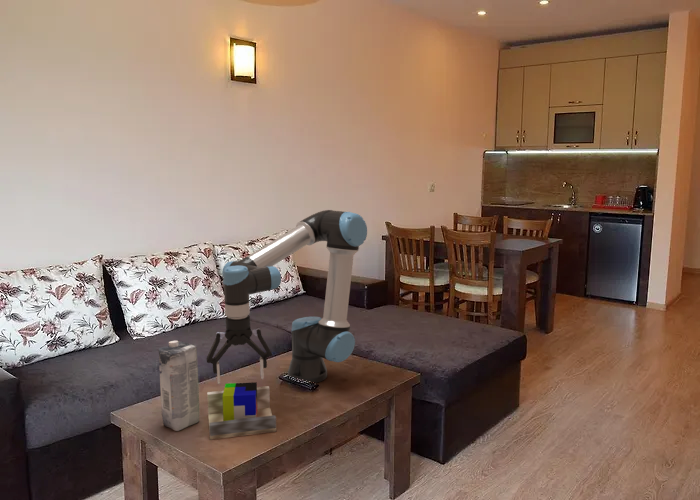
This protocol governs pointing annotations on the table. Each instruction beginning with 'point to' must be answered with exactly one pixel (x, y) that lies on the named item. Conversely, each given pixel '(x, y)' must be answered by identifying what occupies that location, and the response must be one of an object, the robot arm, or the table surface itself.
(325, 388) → the table surface
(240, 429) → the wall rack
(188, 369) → the juice carton
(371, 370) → the table surface
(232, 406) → the puzzle toy
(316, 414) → the table surface
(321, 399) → the table surface
